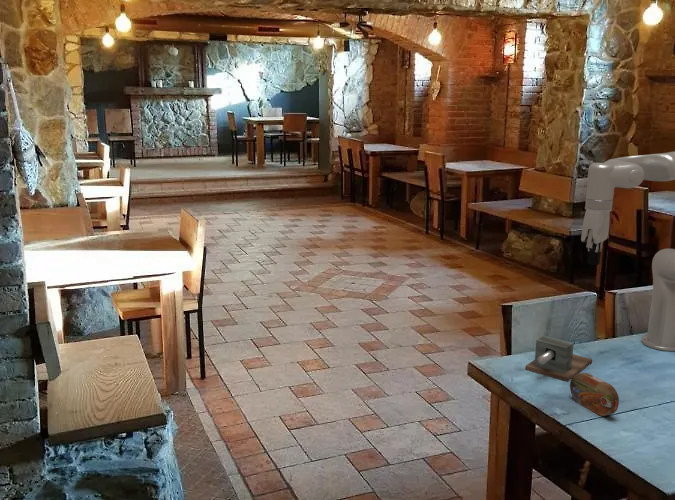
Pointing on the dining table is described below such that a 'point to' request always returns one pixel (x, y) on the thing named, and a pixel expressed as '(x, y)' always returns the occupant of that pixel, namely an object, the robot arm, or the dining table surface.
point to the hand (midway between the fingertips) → (593, 264)
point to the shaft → (546, 356)
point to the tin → (594, 394)
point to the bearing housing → (557, 359)
